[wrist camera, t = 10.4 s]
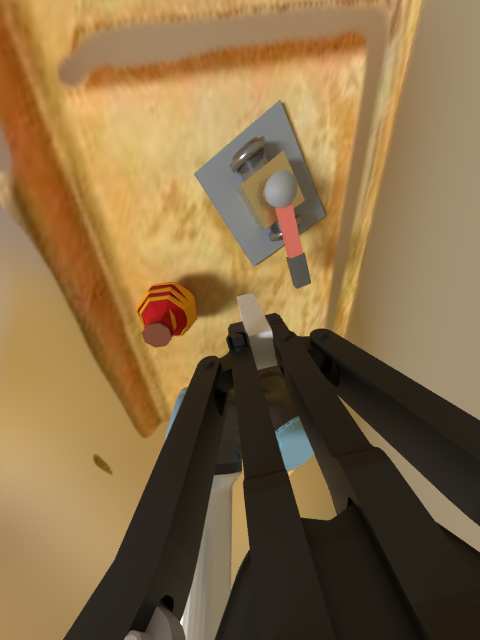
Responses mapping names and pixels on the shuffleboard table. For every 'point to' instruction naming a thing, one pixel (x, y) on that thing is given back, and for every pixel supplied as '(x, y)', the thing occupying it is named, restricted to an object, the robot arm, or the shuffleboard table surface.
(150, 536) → the robot arm
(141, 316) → the potion bottle
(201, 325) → the shuffleboard table surface
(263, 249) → the slate board
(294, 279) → the lever
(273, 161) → the valve body
